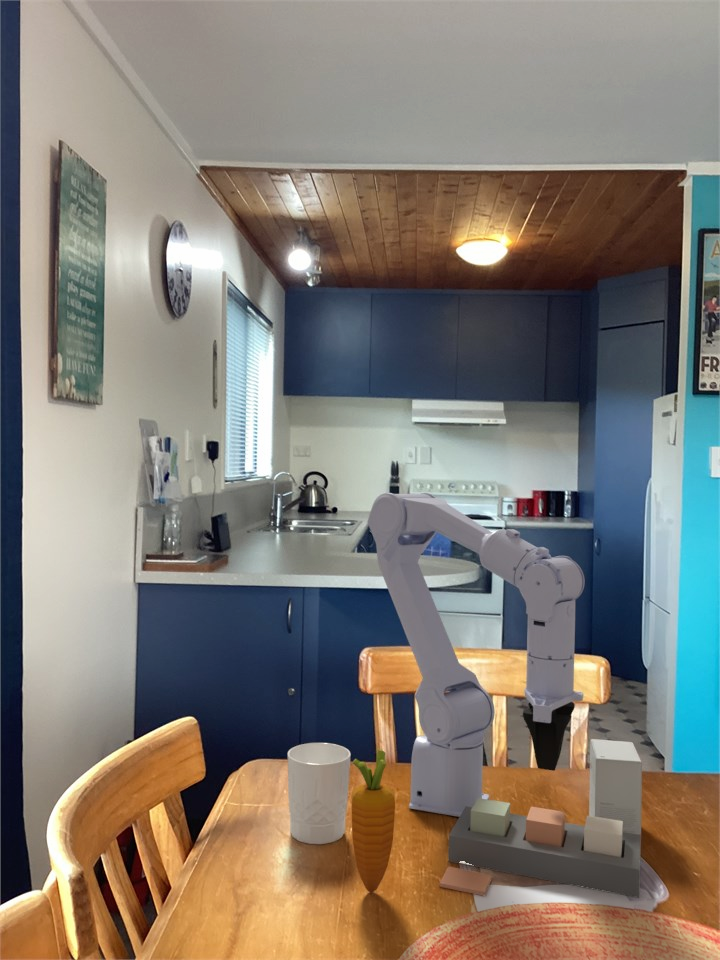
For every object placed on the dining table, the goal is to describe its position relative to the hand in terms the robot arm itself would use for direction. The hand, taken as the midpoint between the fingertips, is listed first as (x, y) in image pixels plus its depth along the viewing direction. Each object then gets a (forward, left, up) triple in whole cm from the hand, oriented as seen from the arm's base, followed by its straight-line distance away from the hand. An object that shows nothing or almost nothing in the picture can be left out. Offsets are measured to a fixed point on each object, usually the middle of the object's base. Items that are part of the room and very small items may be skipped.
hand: (548, 764), depth 99 cm
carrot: (-16, -20, -10) cm, 27 cm away
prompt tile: (-7, -14, -9) cm, 18 cm away
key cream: (+7, -5, -8) cm, 12 cm away
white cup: (-27, -9, -10) cm, 30 cm away
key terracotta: (0, -5, -8) cm, 9 cm away
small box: (+8, +6, -10) cm, 14 cm away
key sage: (-6, -6, -8) cm, 11 cm away
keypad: (+1, -5, -9) cm, 11 cm away
